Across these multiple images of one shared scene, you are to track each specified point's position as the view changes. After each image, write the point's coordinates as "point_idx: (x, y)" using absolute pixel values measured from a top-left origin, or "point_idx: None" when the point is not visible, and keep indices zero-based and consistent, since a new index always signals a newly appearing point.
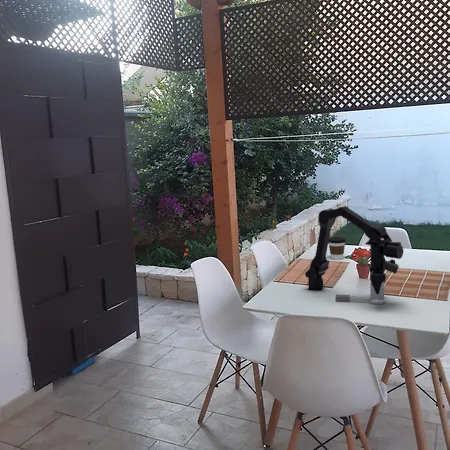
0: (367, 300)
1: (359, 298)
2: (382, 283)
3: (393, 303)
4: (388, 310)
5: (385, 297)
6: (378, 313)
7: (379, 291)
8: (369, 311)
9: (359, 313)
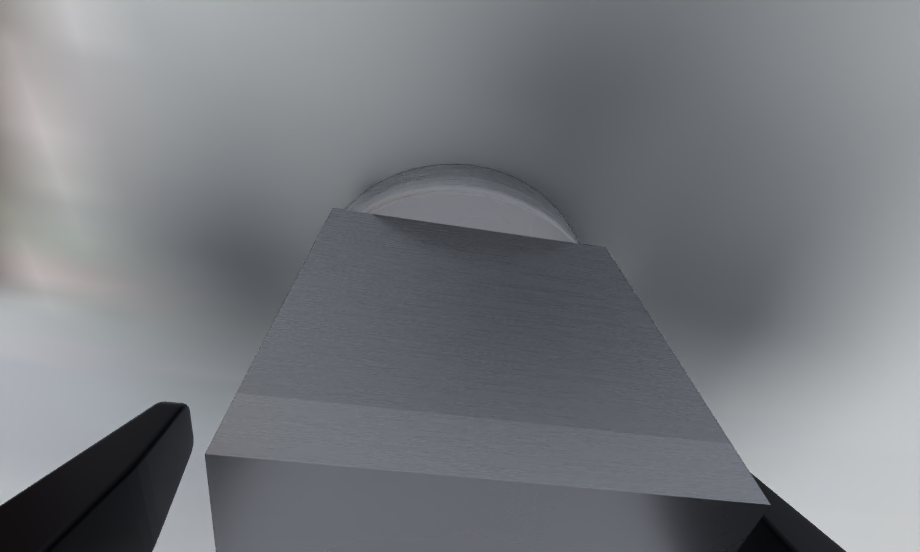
0: None
1: None
2: (355, 507)
3: (546, 23)
4: (871, 198)
5: (449, 195)
6: (917, 347)
7: (800, 514)
8: (801, 426)
9: (819, 510)
